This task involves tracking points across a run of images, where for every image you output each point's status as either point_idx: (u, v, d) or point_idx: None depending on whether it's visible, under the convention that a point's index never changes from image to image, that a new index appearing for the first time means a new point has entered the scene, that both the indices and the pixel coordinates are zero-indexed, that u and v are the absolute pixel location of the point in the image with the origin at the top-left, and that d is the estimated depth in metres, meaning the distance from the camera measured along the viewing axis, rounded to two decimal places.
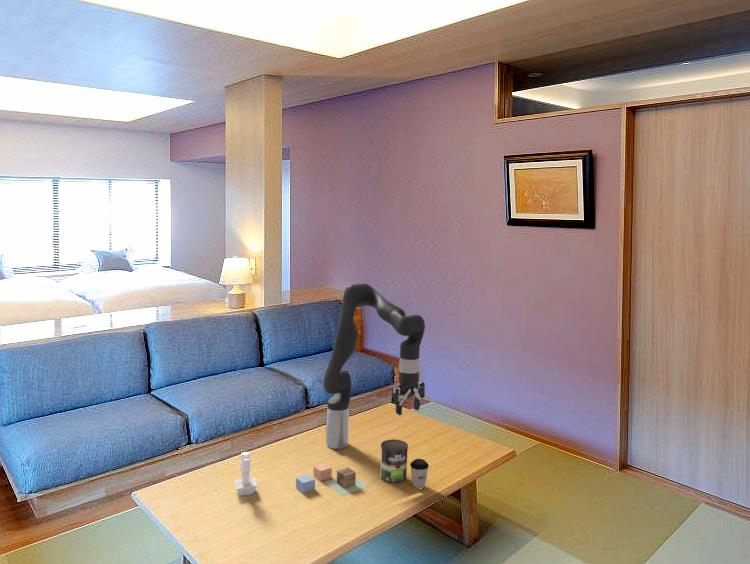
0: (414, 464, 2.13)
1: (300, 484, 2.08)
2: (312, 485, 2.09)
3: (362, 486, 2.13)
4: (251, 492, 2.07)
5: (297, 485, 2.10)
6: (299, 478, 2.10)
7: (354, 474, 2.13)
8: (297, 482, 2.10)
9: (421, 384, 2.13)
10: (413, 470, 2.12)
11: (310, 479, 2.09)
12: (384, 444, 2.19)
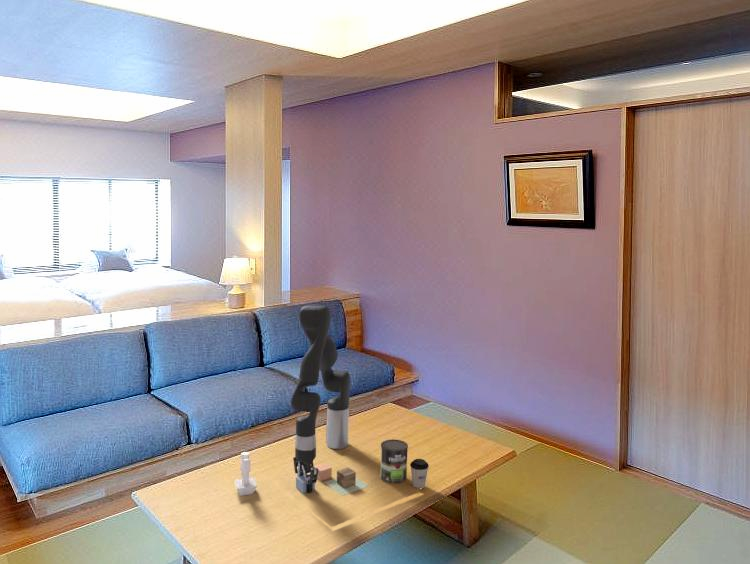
0: (414, 464, 2.13)
1: (300, 483, 2.08)
2: None
3: (362, 486, 2.13)
4: (251, 492, 2.07)
5: (297, 484, 2.10)
6: (299, 478, 2.10)
7: (354, 474, 2.13)
8: (297, 482, 2.10)
9: None
10: (413, 470, 2.12)
11: None
12: (384, 444, 2.19)
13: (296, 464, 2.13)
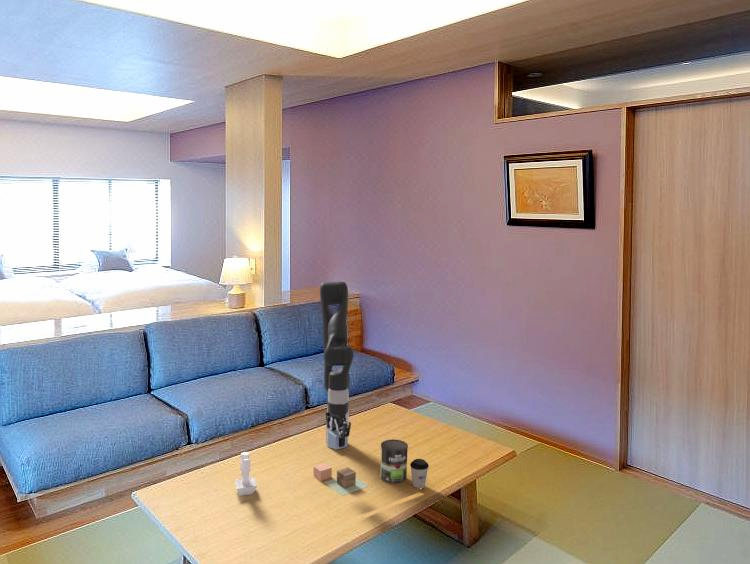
0: (414, 464, 2.13)
1: (332, 438, 2.09)
2: None
3: (362, 486, 2.13)
4: (251, 492, 2.07)
5: (330, 439, 2.11)
6: (331, 432, 2.11)
7: (354, 474, 2.13)
8: (329, 436, 2.11)
9: None
10: (413, 470, 2.12)
11: None
12: (384, 444, 2.19)
13: (328, 419, 2.14)
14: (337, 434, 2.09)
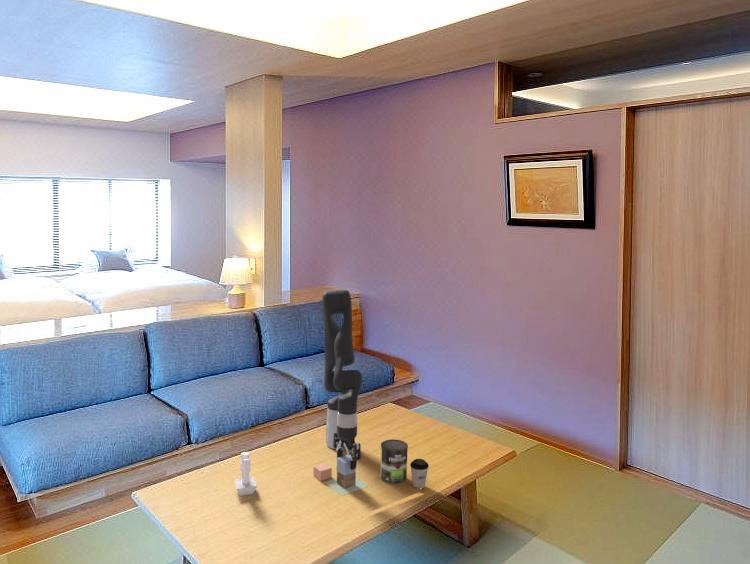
0: (414, 464, 2.13)
1: (342, 464, 2.11)
2: None
3: (362, 486, 2.13)
4: (251, 492, 2.07)
5: (339, 465, 2.13)
6: (340, 458, 2.13)
7: (354, 474, 2.13)
8: (338, 462, 2.13)
9: None
10: (413, 470, 2.12)
11: None
12: (384, 444, 2.19)
13: (336, 439, 2.16)
14: (346, 460, 2.11)
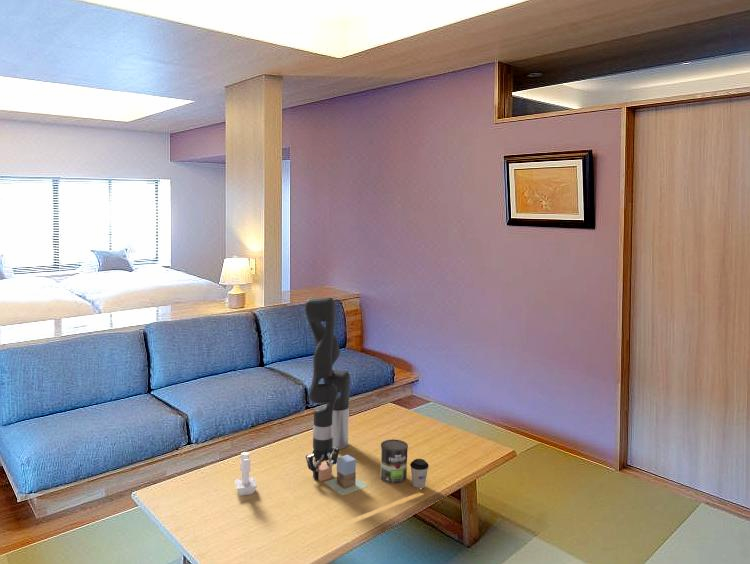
0: (414, 464, 2.13)
1: (342, 464, 2.11)
2: (353, 465, 2.12)
3: (362, 486, 2.13)
4: (251, 492, 2.07)
5: (339, 465, 2.13)
6: (340, 458, 2.13)
7: (354, 474, 2.13)
8: (338, 462, 2.13)
9: None
10: (413, 470, 2.12)
11: (351, 459, 2.12)
12: (384, 444, 2.19)
13: None
14: (346, 460, 2.11)
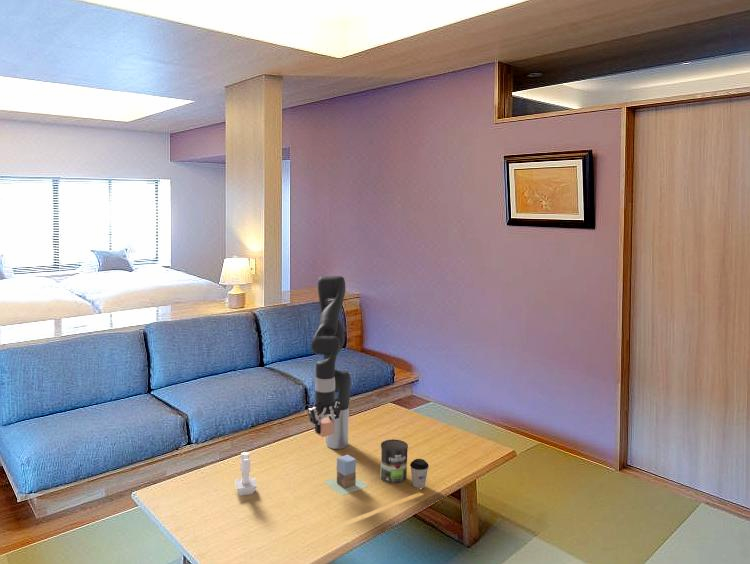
0: (414, 464, 2.13)
1: (342, 464, 2.11)
2: (353, 465, 2.12)
3: (362, 486, 2.13)
4: (251, 492, 2.07)
5: (339, 465, 2.13)
6: (340, 458, 2.13)
7: (354, 474, 2.13)
8: (338, 462, 2.13)
9: None
10: (413, 470, 2.12)
11: (351, 459, 2.12)
12: (384, 444, 2.19)
13: None
14: (346, 460, 2.11)
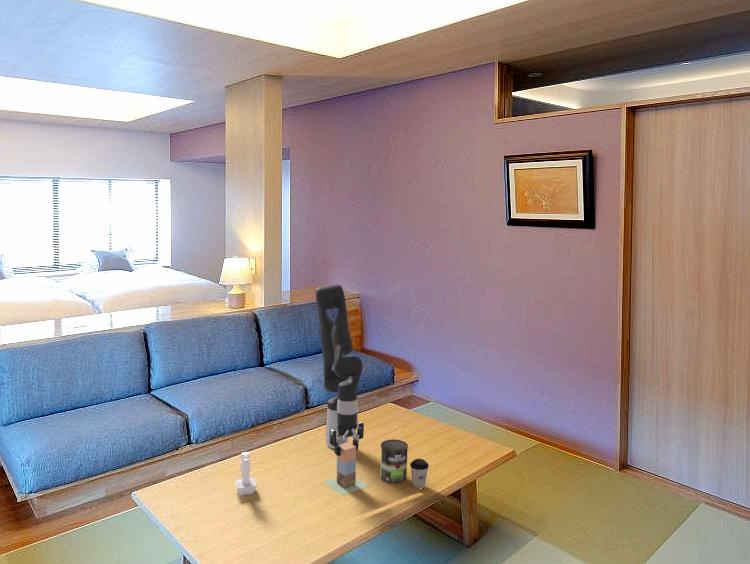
0: (414, 464, 2.13)
1: (342, 464, 2.11)
2: (353, 465, 2.12)
3: (362, 486, 2.13)
4: (251, 492, 2.07)
5: (339, 465, 2.13)
6: None
7: (354, 474, 2.13)
8: (338, 462, 2.13)
9: None
10: (413, 470, 2.12)
11: None
12: (384, 444, 2.19)
13: None
14: None
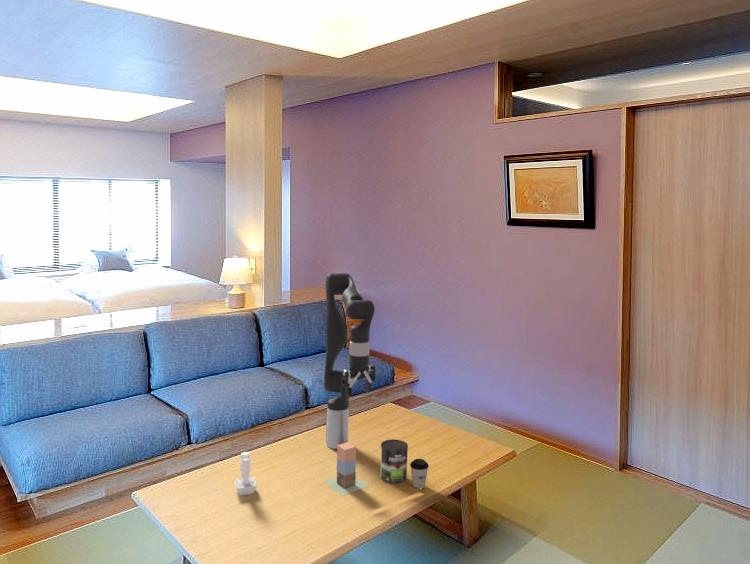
0: (414, 464, 2.13)
1: (342, 464, 2.11)
2: (353, 465, 2.12)
3: (362, 486, 2.13)
4: (251, 492, 2.07)
5: (339, 465, 2.13)
6: None
7: (354, 474, 2.13)
8: (338, 462, 2.13)
9: None
10: (413, 470, 2.12)
11: None
12: (384, 444, 2.19)
13: None
14: None
